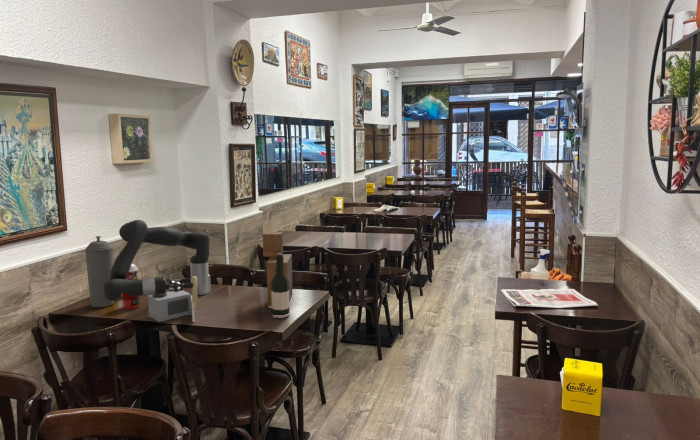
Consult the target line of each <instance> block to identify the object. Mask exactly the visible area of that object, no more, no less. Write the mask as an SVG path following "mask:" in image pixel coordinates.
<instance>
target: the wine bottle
mask: <svg viewBox="0 0 700 440" xmlns="http://www.w3.org/2000/svg"><path fill="white" fill-rule="evenodd" d="M271 297H272V308H271V315H272V314H273V315H285V314H288V313H289V314H290V305H289V280H288V279H287V277H286V276H285V274H284V259H283V255H282V253H278V254H277V256H276V275H275V277H274V278H273V280H272V282H271Z"/></svg>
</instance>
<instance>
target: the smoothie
mask: <svg viewBox="0 0 700 440" xmlns="http://www.w3.org/2000/svg"><path fill="white" fill-rule="evenodd" d="M138 270H139V268H138V267H137V265H136V264H135V263H132V264H131V267H130V269H129V272H128V275H127V277H126V280H139V279H138V275H139V273H138Z"/></svg>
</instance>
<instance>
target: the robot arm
mask: <svg viewBox="0 0 700 440" xmlns="http://www.w3.org/2000/svg"><path fill="white" fill-rule="evenodd" d="M118 232H119V234H118V235H119V236H120V237H121V239H122V240H124V242H127V243H126V244H125V246H124V247H123V248H122V250H121V251H120V252H119V253H118V255H117V256H116V258H115V260H114V261H113V267H112V269H111V272H110V280H108V281H107V282H106V283H105V284H104V286H103V289H104V295H105V298H106V299H107V300H109V301H117V300H119V299H120V298H121V296H122V293H127V294H129V295H130V296H148V295H158V294H165V293H166V292H167V290H168V291H169V292H171V291H184V290H185V289H191V291H190V292H192V288H193V283H192V281H191V277H193V276H196V277H197V293H198V296H203V295H207V294H209V293H211V291H212V289H211V287H212V286H211V274H209V273H210V271H209V257H210V237H209V235H208V234H207V233H205V232H197V231H180V230H179V229H177V228H173V227H169V226H168V227H167V226H152V227H149V226H148V224H147V223H146V222H145V221H144V220H142V219H135V220H132V221H129V222H126V223H124V224H123V225H121V226H120V228H119V231H118ZM143 243H144V244H145V243H147V244H151V245H160V246H165V247H166V246H167V247H177V246H180V247H181V246H182V247H185V248H187V249H191V250H195V251H196V252H195V255H192V256H191V257H190V259H189V260H190V262H189V263H190V264H189V265H190V278H189V277H188V278H181V277H171V278H165V276H160V277H157V276H156V277H147V278H142V279H141V278H140V279H138V280H126V277H127V275H128V272H129V269H130V267H131V264H133V261H134V259H135V256H136V255H137V253H138V251H139V249H140V247H141V246H142V244H143Z"/></svg>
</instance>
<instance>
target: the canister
mask: <svg viewBox="0 0 700 440" xmlns="http://www.w3.org/2000/svg"><path fill="white" fill-rule="evenodd" d="M101 237H102V236H101V235H96V236H95V238H96V240H94V241H91V242H90V243H89V244H88V246H86V247H85V250H84V252H85V253H84V254H85V262H86V272H87V279H88V280H87V282H88V290H89V291H88V292H89V299H90V300H89V302H90V306H91V307H93V308H104V307H105V308H106V307H111V306H112V305H114V304H115V301H109V300H107V299H106V298H105V295H104V289H103V286H104V284H105V283H106V282H107V281H108V280H110V272H111V269H112V267H113V264H114V247H113V245H111V244H110V243H109V242H108V241H106V240H101V239H100V238H101Z"/></svg>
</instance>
